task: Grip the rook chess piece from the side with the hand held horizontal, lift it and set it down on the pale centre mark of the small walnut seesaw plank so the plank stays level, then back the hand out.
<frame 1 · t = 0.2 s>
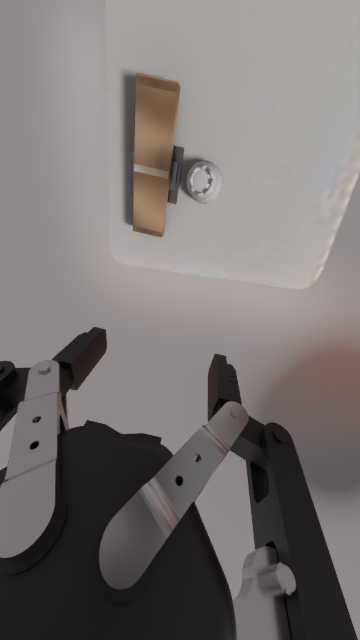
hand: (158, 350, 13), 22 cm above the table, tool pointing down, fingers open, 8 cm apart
beam: (152, 171, 23), point 2 cm above the table, hinge at 0.0°
fulcrum: (155, 172, 25), on the table
rook chess piece: (205, 183, 25), on the table
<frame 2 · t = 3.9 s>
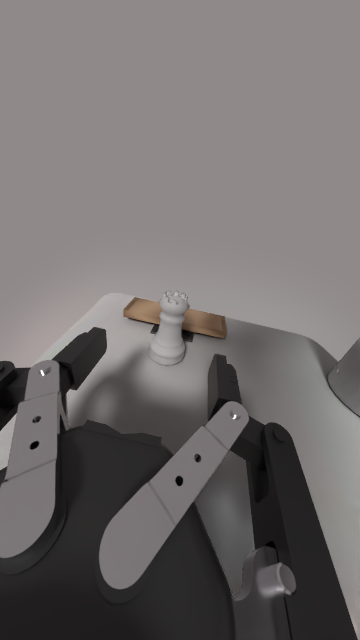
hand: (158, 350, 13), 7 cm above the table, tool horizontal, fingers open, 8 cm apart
beam: (176, 316, 27), point 2 cm above the table, hinge at 0.0°
fulcrum: (175, 325, 28), on the table
rook chess piece: (165, 355, 22), on the table
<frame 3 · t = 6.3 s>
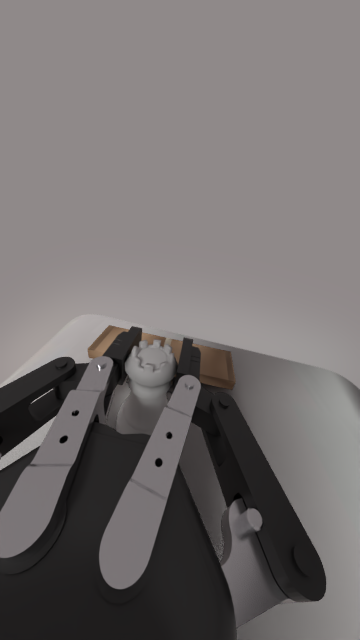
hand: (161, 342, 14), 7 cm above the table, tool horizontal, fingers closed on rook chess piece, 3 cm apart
beam: (164, 354, 20), point 2 cm above the table, hinge at 0.0°
rook chess piece: (144, 426, 15), on the table, touching gripper
when the fingers open (10 cm above the table, at t = 9.9 s): rook chess piece stays where it is, resting on beam.
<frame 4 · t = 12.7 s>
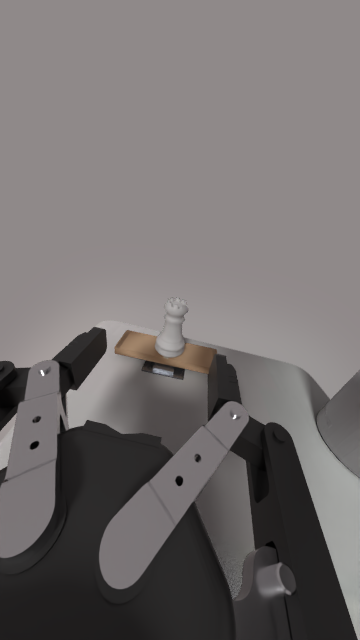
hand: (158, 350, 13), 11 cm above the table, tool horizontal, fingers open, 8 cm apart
beam: (168, 351, 27), point 2 cm above the table, hinge at 0.4°, touching rook chess piece
fulcrum: (166, 358, 28), on the table
rook chess piece: (169, 350, 27), point 2 cm above the table, touching beam
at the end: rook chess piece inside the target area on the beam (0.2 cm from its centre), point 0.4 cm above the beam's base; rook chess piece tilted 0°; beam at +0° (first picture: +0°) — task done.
